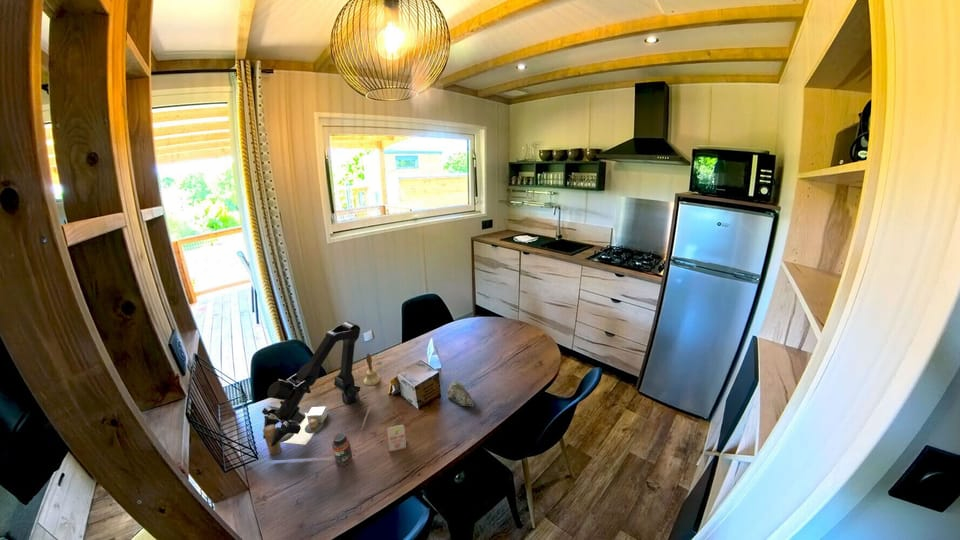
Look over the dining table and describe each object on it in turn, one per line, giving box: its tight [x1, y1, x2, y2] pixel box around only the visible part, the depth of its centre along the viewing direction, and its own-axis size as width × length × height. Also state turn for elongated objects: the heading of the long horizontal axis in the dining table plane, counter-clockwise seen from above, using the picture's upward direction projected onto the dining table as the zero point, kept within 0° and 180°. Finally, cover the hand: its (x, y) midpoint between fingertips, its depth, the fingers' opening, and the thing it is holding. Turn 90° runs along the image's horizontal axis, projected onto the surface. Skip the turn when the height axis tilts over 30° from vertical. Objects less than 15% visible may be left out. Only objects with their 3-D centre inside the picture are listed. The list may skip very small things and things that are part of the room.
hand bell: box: [363, 352, 381, 386], centre depth 167 cm, size 8×8×16 cm
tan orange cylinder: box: [262, 424, 282, 456], centre depth 126 cm, size 4×4×12 cm
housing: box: [307, 406, 328, 423], centre depth 143 cm, size 6×5×4 cm
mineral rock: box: [446, 380, 475, 407], centre depth 152 cm, size 13×11×10 cm
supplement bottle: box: [331, 432, 353, 467], centre depth 123 cm, size 6×6×11 cm
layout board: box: [279, 411, 328, 446], centre depth 138 cm, size 18×16×4 cm
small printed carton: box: [385, 424, 407, 453], centre depth 129 cm, size 4×7×10 cm, turn 105°
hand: (268, 442), depth 125 cm, fingers open, 6 cm apart
